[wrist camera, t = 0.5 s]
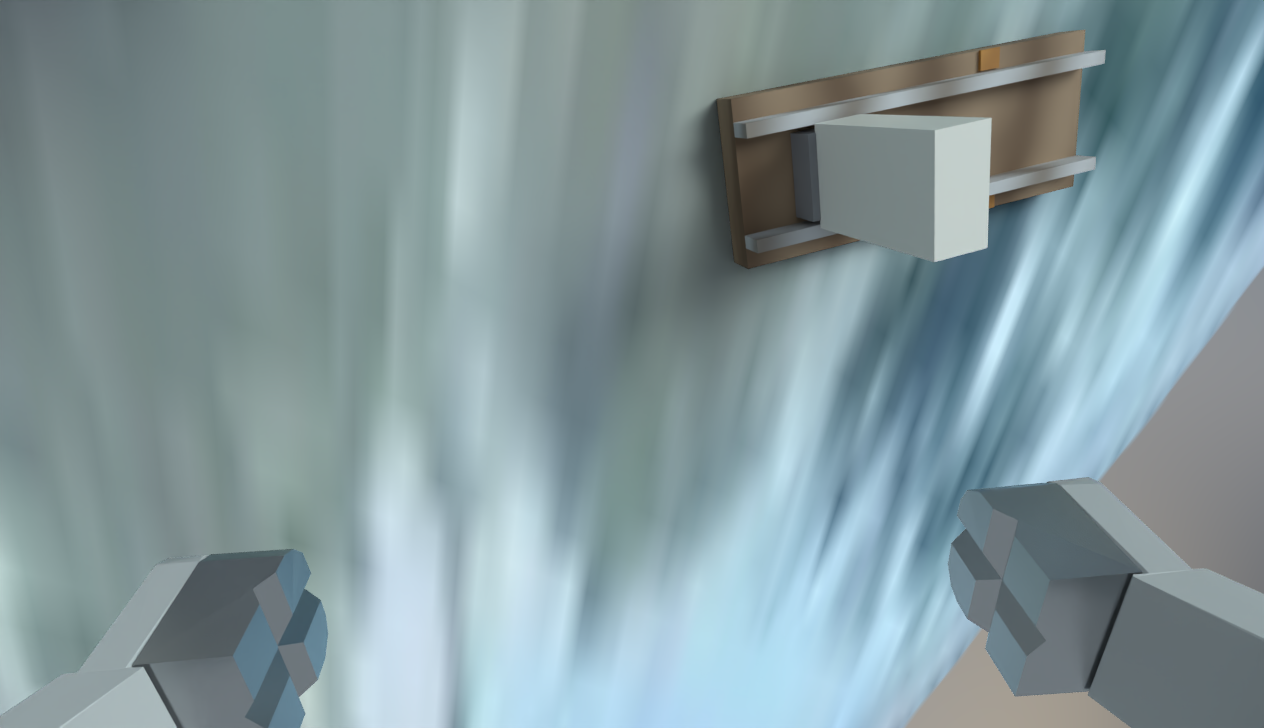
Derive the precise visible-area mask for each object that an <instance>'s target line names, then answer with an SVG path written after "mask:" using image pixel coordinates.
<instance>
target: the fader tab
mask: <svg viewBox="0 0 1264 728" xmlns="http://www.w3.org/2000/svg"><path fill="white" fill-rule="evenodd" d="M991 122H992V118H983V117H948V116H914V115H879V114H858V115H853V116H849V117H844V118H839V119H834V120H830V121H825V122H820V123H815V124H814V125H815V128H812V129H808V130H803V131H798V132H793V133H790V135H791V149H792V163H793V177H794V191H795V205H796V217H798V218H801V219H805V220H808V221H812V222H816V221H820V227H821V228H822V229H825V230H828V231H832V232H835V233H838V234H842V235H845V236H848V237H852V238H855V239H858V240H862V241H865V242H869V243H872V244H875V245H879V246H882V247H885V248H889V249H892V250H895V251H899V252H902V253H906V254H909V255H912V256H916V257H919V258H922V259H926V260H929V261H932V262H937V261H940V260H944V259H948V258H951V257H955V256H959V255H963V254H966V253H970V252H974V251H977V250H981V249H985V248H987V244H988V213H989V183H990V153H991Z"/></svg>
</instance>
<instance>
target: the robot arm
mask: <svg viewBox="0 0 1264 728" xmlns="http://www.w3.org/2000/svg"><path fill="white" fill-rule="evenodd" d="M957 516H958V518H959V519H960V521H961V522H962V524H963V525H964V526H965V528H966V529H965V530H964V531H963V532H962V533H961V534H960V535H959V536H958V537H957V538H956V539H955V540H954V541H953V542H952V543H951V548H950V555H949V561H948V567H949V574H950V582H951V587H952V589H953V592H954V595H955V597H956V600H957V602H958V604H959V606H960V608H961V609H962V611H963V613H964V614H965V616H966V618H967V619H968V620H970V621H971V622H973V623H975V624H976V625H978V626H979V627H981V628H983V629H984V630H986V631H987V632H989V633H988V639H987V643H986V648H985V649H986V650H987V652H988V654H989V655H990V657H991V658H992V660H993V662H994V663H995V665H996V666H997V668H998V670H999V671H1000V673H1001V674H1002V676H1003V678H1004V679H1005V681H1006V683H1007V684H1008V686H1009V687H1010V689H1011V691H1012V692H1013V694H1014V696H1027V695H1043V694H1057V693H1072V692H1086V691H1089V693H1088V696H1090V697H1091V698H1092V699H1094V700H1095V701H1096V702H1098V703H1099V704H1100V705H1102V706H1103V707H1104V708H1106V709H1107V710H1109V711H1110V712H1111V713H1112V714H1114V715H1115V716H1116V717H1118V718H1119V719H1120V720H1122V721H1123V722H1125V723H1126V724H1127V725H1128V726H1130V727H1131V728H1264V594H1262V593H1260V592H1258V591H1256V590H1253V589H1251V588H1249V587H1247V586H1244V585H1242V584H1240V583H1238V582H1235V581H1233V580H1231V579H1229V578H1226V577H1224V576H1222V575H1220V574H1217V573H1215V572H1213V571H1211V570H1209V569H1206V568H1204V569H1192V568H1190V567H1189V566H1188V565H1187V564H1186V563H1185V562H1184V561H1183V560H1182V559H1181V558H1180V557H1179V556H1178V555H1177V554H1176V553H1175V552H1174V551H1173V550H1172V549H1170V548H1169V547H1168V546H1167V545H1166V544H1165V543H1164V542H1163V541H1162V540H1161V539H1160V538H1159V537H1158V536H1156V534H1155V533H1154V532H1153V531H1151V530H1150V529H1149V528H1148V527H1147V526H1146V525H1145V524H1144V523H1143V522H1142V521H1141V520H1140V519H1139V518H1138V517H1137V516H1136V515H1135V514H1134V513H1133V512H1131V511H1130V510H1129V509H1128V508H1127V507H1126V506H1125V505H1124V504H1123V503H1122V502H1121V501H1120V500H1119V499H1118V498H1117V497H1116V496H1115V495H1113V494H1112V493H1111V492H1110V491H1109V490H1108V489H1107V488H1106V487H1105V486H1104V485H1103V484H1102V483H1100V482H1099V481H1096V480H1094V479H1091V478H1089V477H1086V478H1077V479H1068V480H1058V481H1049V482H1047V483H1037V484H1026V485H1016V486H1005V487H995V488H984V489H973V490H967V491H966V493H965V494H964V496H963V497H962V498H961V500H960V505H959V509H958V514H957ZM310 574H311V572H310V570H309V567H308V565H307V562H306V560H305V558H304V555H303V553H302V552H299V551H297V550H294V549H286V550H270V551H255V552H239V553H224V554H211V555H209V556H190V557H174V558H167V559H166V560H164V561H162V562H160V563H158V564H156V565H155V566H154V568H153V569H152V570H151V572H150V573H149V574H148V576H147V577H146V579H145V580H144V581H143V583H142V584H141V585H140V587H139V588H138V590H137V591H136V592H135V594H134V595H133V596H132V598H131V599H130V601H129V602H128V603H127V605H126V606H125V607H124V609H123V610H122V612H121V613H120V614H119V616H118V617H117V618H116V620H115V621H114V623H113V624H112V625H111V627H110V628H109V630H108V631H107V632H106V634H105V635H104V636H103V638H102V639H101V641H100V642H99V643H98V645H97V646H96V647H95V649H94V650H93V652H92V653H91V654H90V656H89V657H88V658H87V660H86V661H85V663H84V664H83V665H82V667H81V668H80V669H79V671H78V672H77V673H69V674H62V675H60V676H59V677H57V678H56V679H54V680H53V681H51V682H50V683H48V684H47V685H46V686H44V687H43V688H41V689H40V690H38V691H37V692H35V693H34V694H32V695H31V696H29V697H28V698H26V699H25V700H23V701H22V702H20V703H19V704H17V705H16V706H14V707H13V708H11V709H10V710H8V711H7V712H5V713H4V714H2V715H1V716H0V728H300V726H301V724H302V721H303V718H304V716H305V712H304V709H303V707H302V704H301V702H300V699H299V697H300V696H301V695H302V694H303V693H304V692H305V691H306V690H307V689H308V688H309V687H310V686H312V685H313V684H314V683H315V682H316V681H317V680H318V678H319V675H320V672H321V669H322V666H323V663H324V660H325V656H326V647H327V638H328V629H327V621H326V614H325V611H324V608H323V605H322V603H321V600H320V599H318V598H317V597H316V596H314V595H313V594H311V593H310V592H308V591H307V590H306V589H304V588H305V586H306V583H307V581H308V579H309V576H310Z"/></svg>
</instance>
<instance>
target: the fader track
mask: <svg viewBox="0 0 1264 728" xmlns="http://www.w3.org/2000/svg"><path fill="white" fill-rule="evenodd" d="M1084 40H1085V30H1078V31H1068V32H1059V33H1053V34H1048V35H1043V36H1038V37H1033V38H1028V39H1023V40H1018V41H1012V42H1007V43H1002V44H997V45H992V46H987V47H982V48H976V49H971V50H966V51H961V52H956V53H951V54H946V55H941V56H935V57H930V58H925V59H920V60H915V61H910V62H905V63H899V64H894V65H889V66H884V67H879V68H874V69H869V70H864V71H858V72H853V73H848V74H843V75H838V76H833V77H828V78H822V79H817V80H812V81H807V82H802V83H797V84H792V85H787V86H781V87H776V88H771V89H766V90H761V91H756V92H751V93H745V94H740V95H735V96H730V97H725V98H720V99H717V108H718V117H719V126H720V135H721V144H722V154H723V163H724V172H725V181H726V190H727V200H728V209H729V218H730V227H731V237H732V246H733V255H734V262H735V263H737V264H739V265H741V266H743V267H745V268H747V269H749V268H753V267H757V266H761V265H765V264H769V263H773V262H777V261H781V260H785V259H789V258H793V257H797V256H801V255H804V254H808V253H812V252H816V251H820V250H824V249H828V248H832V247H836V246H840V245H844V244H848V243H852V242H856V241H859V240H858V239H855V238H852V237H848V236H845V235H842V234H838V233H835V232H832V231H828V230H825V229H822V228H821V227H820V221H816V222H812V221H808V220H805V219H801V218H798V217H796V205H795V191H794V177H793V163H792V149H791V135H790V133H793V132H798V131H803V130H808V129H812V128H815V125H814V124H815V123H820V122H825V121H830V120H834V119H839V118H844V117H849V116H853V115H858V114H879V115H914V116H948V117H983V118H992V122H991V153H990V183H989V208H993V207H994V206H997V205H1001V204H1005V203H1009V202H1013V201H1017V200H1021V199H1024V198H1028V197H1032V196H1036V195H1040V194H1044V193H1048V192H1052V191H1056V190H1060V189H1064V188H1068V187H1072V186H1073V181H1074V174H1078V173H1082V172H1086V171H1090V170H1094V169H1095V163H1096V157H1090V156H1078V155H1076V142H1077V130H1078V117H1079V104H1080V91H1081V78H1082V68H1086V67H1090V66H1095V65H1100V64H1104V62H1105V51H1106V50H1098V51H1084Z"/></svg>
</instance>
